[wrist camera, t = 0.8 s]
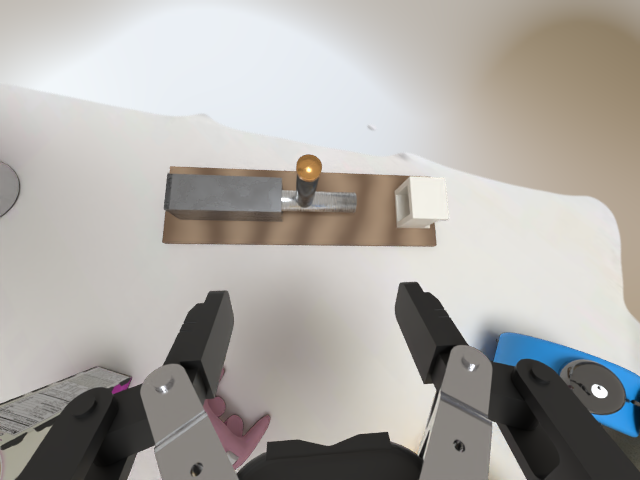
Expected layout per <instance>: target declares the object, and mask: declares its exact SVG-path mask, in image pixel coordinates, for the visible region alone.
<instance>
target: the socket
mask: <svg viewBox="0 0 640 480" xmlns="http://www.w3.org/2000/svg"><path fill="white" fill-rule="evenodd" d="M395 205H396V221H397V228H430V224H433V223H435V222H437V221H439V220H440V221H446V220H448V219H449V211H448V201H447V191H446V182H445V178H438V177H412V176H410V177H409V178H408V179H407V180H406V181H405V182H404V183H403V184H401V185H400V186H399V187H398V188H397V189H396V190H395Z"/></svg>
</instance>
